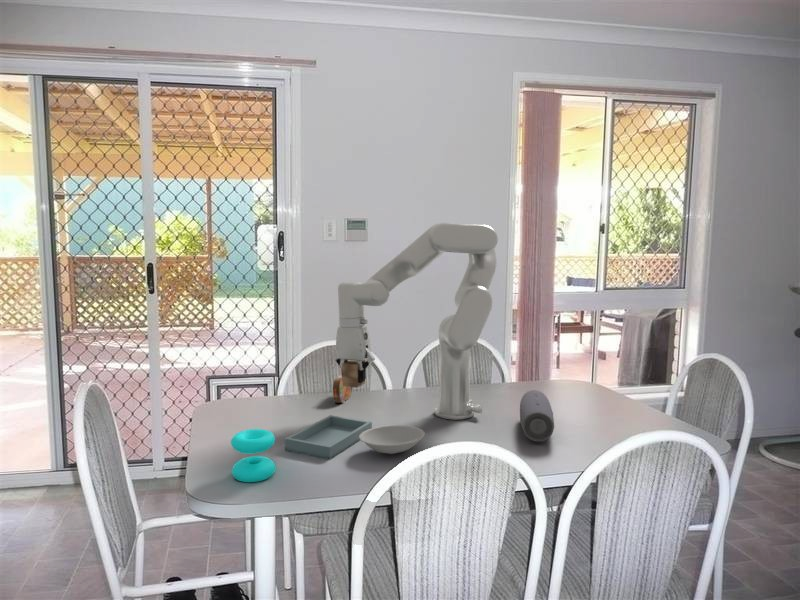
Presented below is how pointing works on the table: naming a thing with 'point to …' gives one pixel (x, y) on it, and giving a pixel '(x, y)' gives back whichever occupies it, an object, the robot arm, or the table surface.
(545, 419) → the bluetooth speaker
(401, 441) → the dish
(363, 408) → the table surface
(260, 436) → the donuts
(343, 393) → the tin
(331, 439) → the tray
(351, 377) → the block
